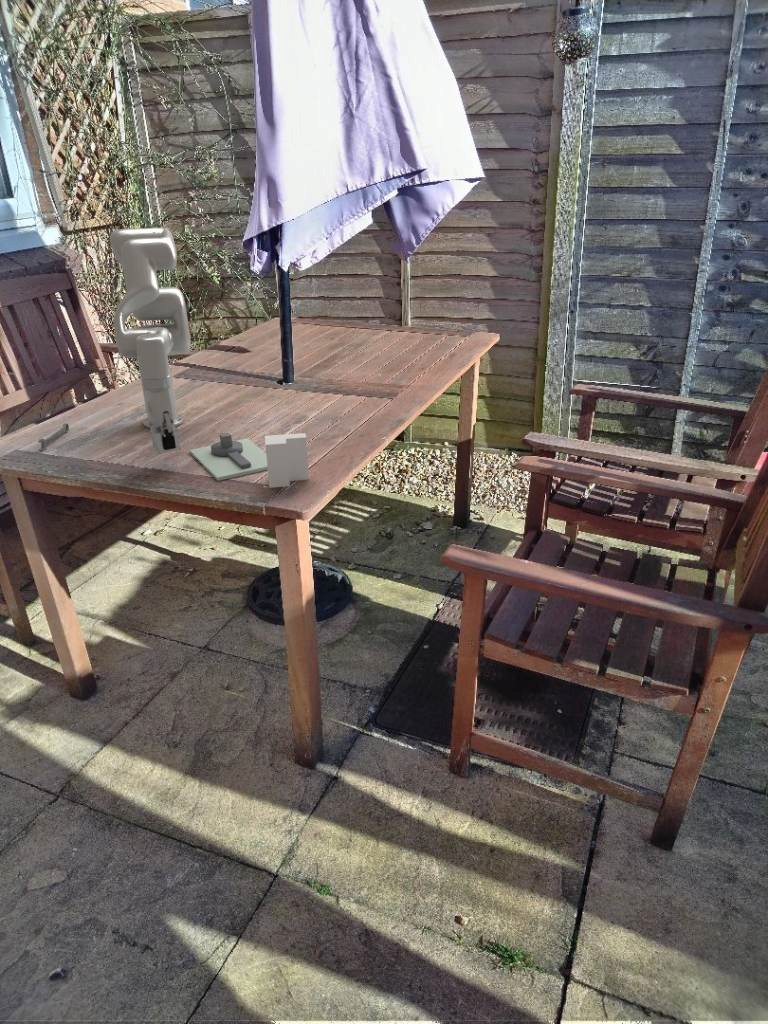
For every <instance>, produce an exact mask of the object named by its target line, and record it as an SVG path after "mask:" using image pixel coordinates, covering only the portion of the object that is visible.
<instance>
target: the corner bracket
mask: <svg viewBox="0 0 768 1024" xmlns="http://www.w3.org/2000/svg"><path fill="white" fill-rule="evenodd" d="M307 442H308V441H307V434H306V432H303V433H302V432H301V433H286V434H273V435H265V436H264V444H265V446H264V447H265V453H266V457H267V468H268V470H267V477H268V488H282V487H283V488H285V487H290V486H291V485H290V482H291V481H292V482H293V481H295V482H296V481H306V480H310V475H309V473H310V472H309V460H308V458H309V457H308V443H307Z"/></svg>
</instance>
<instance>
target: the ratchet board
mask: <svg viewBox="0 0 768 1024" xmlns="http://www.w3.org/2000/svg"><path fill="white" fill-rule="evenodd" d="M219 440H220V441H219V442H215V443H213V444H211V445H207V446H202V447H198V448H193V449H189V454H190V455H191V456H192V457H193V456H194V457H193V458H194V459H195V460H196V459H197V460H198V461H199V462H200V463H201V464H202V465H203V466H204V467H205V468H206V469H205V468H204V467H203V466H202V465H201V464H200V463H199V462H198V461H197V460H196V461H197V462H198V463H199V464H200V465H201V466H202V467H203V468H204V469H205V471H207V472H208V473H209V474H210V475H211V476H212V477H213V478H214V479H215V480H216V481H218V482H219V481H223V480H228V479H232V478H236V477H237V478H238V477H241V476H246V475H251V474H254V473H259V472H260V473H261V472H264V471H268V468H267V457H266V451H264V449H262V448H260V447H259V446H258V445H257V444H256V443H254V442H253V441H251V440H250V439H249V438H243V439H242V438H241V439H237V440H233V438H232V434H230V433H229V432H225V433H219Z"/></svg>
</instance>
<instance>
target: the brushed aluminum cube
mask: <svg viewBox="0 0 768 1024" xmlns="http://www.w3.org/2000/svg"><path fill="white" fill-rule="evenodd" d="M163 425H166V424H163ZM172 426H173V432H174V438H175V445H176V448H174V449H170V450H164V447H163V441H162V436H163V434H162V430H161V426H160V427H159V428H158V427H156V426H150V428H149V430H150V436H151V441H152V448H153V449H154V450H155V451H156V452H157V453H158V454H160V455H161V454H165V453H170V452H175V451H179V450H181V449H182V448H181V441H180V435H179V429H178V428H177V426H174V425H172ZM165 429H167V427H164V430H165Z"/></svg>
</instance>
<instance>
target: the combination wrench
mask: <svg viewBox="0 0 768 1024" xmlns="http://www.w3.org/2000/svg"><path fill="white" fill-rule="evenodd" d="M67 431H68V432H69V431H70V426H69V424H68V423H63V424H62V427H61V428H60V429H58V430H57V431H56V432H54V433H53V434H52V435H50V436H49V437H47V438H46V439H44V438H39V439H38V441H37V443H40V445H41V447H40V448H38V451H39V452H44V451H45V450H46V449H47V446H48V445H50V443H52V442H53V441H54V440H56V439H57V438H59V437H60V436H61V435H63V434H64V433H68V432H67Z"/></svg>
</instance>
